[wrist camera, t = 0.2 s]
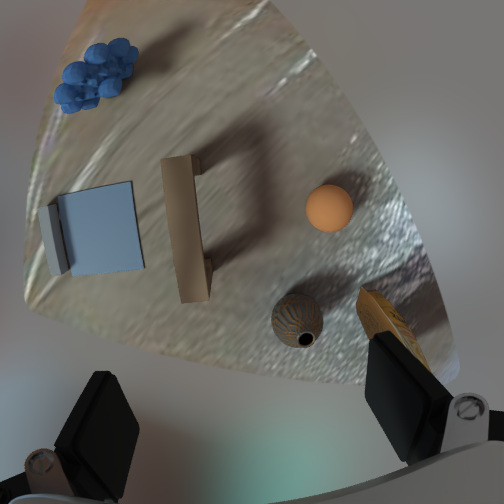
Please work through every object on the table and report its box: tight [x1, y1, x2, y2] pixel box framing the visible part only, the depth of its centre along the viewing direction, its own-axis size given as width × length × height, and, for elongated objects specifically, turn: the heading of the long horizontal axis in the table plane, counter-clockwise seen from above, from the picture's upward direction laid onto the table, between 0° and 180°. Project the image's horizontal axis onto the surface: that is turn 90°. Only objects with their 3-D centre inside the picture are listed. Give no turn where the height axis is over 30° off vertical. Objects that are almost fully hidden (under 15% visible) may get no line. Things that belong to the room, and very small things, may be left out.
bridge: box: [161, 155, 213, 303], centre depth 34 cm, size 3×15×10 cm, turn 5°
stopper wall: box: [38, 204, 69, 276], centre depth 36 cm, size 10×2×2 cm, turn 5°
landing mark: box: [58, 182, 144, 276], centre depth 38 cm, size 12×12×1 cm
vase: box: [271, 294, 323, 348], centre depth 39 cm, size 7×7×9 cm
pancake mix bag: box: [356, 286, 431, 372], centre depth 32 cm, size 7×19×28 cm, turn 35°
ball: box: [306, 185, 353, 232], centre depth 37 cm, size 6×6×6 cm
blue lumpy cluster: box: [54, 38, 139, 114], centre depth 28 cm, size 12×7×12 cm, turn 135°
